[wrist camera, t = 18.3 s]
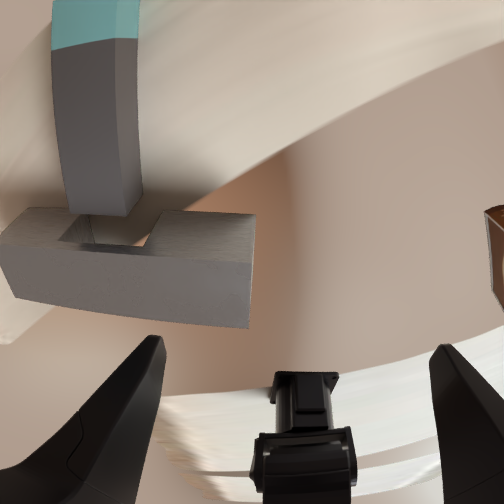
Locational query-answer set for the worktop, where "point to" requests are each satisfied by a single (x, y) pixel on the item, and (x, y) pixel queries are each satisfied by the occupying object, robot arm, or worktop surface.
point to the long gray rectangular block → (136, 266)
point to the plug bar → (97, 103)
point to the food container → (496, 250)
